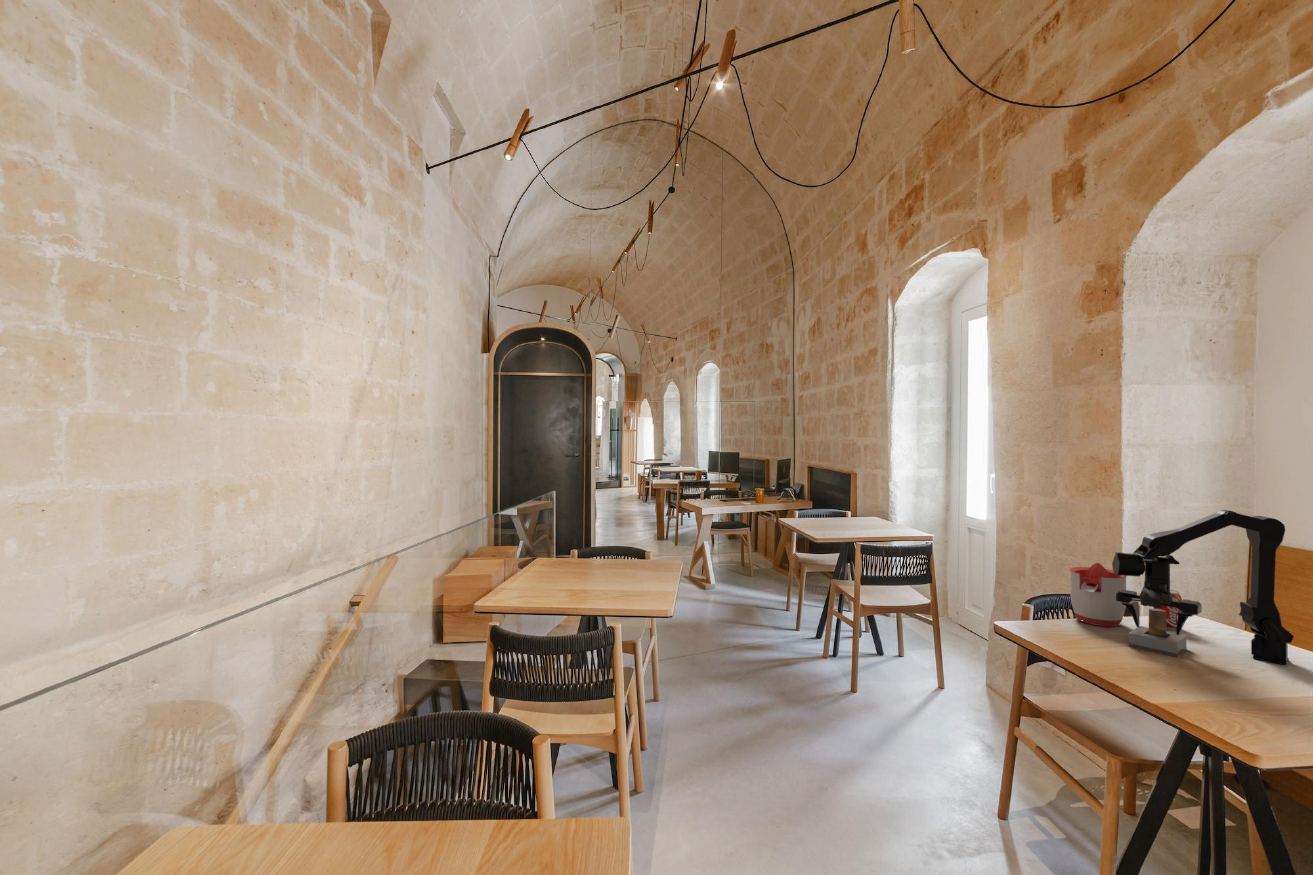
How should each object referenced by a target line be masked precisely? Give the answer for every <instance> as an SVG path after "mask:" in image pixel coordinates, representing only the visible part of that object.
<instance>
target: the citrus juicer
mask: <svg viewBox="0 0 1313 875" xmlns="http://www.w3.org/2000/svg"><path fill="white" fill-rule="evenodd" d="M1069 571H1070V602H1071V606H1072V609H1073V613H1074V616H1075V618H1076V619H1077V620H1078V621H1080V620H1083V621H1082V623H1087V624H1090V625H1096V626H1102V627H1103V628H1104V627H1105V628H1110V627H1117V626H1120V624H1121V622H1122V621H1123V619H1124V618H1123V617H1124V614H1125V613H1126V612H1125V611H1126V608H1127V607H1126V606H1125V605H1122V602H1119V601H1116V593H1117V592H1119V591H1121V590H1127V577H1128V576H1123V575H1115V574H1114V571H1113V569H1108V568H1105V567H1104V566H1103V565H1102V564H1101V563H1099V562H1095V563H1093V564H1092V565H1091V566H1090V567H1089V566H1088V567H1087V566H1074V567H1070V568H1069Z"/></svg>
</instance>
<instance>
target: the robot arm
mask: <svg viewBox="0 0 1313 875" xmlns="http://www.w3.org/2000/svg"><path fill="white" fill-rule="evenodd" d="M1229 526H1235V527H1238V528H1242V529H1245V532H1246V537H1247V539H1248V541H1249V544H1250V546H1251V548H1252V551H1251V574H1250V576H1251V578H1250V597H1249V599H1248V600H1247V601H1240V603H1239V607H1240V612H1239V614H1238V616H1241V619H1242V621H1243V622H1242V623H1244V624H1246V625H1247V626H1248V627H1249V629H1250V631H1251V632H1252V633H1254V635H1253V638H1252V639H1251V640H1250V641H1251V642H1250V643H1251V645H1250V646H1251V647H1250V651H1251V652H1250V654H1251V655H1252V659H1255V660H1260V661H1265V662H1270V663H1274V664H1279V665H1285V666H1286V665H1288V663H1289V661H1290V658H1289V657H1288V656H1289V655H1288V654H1289V652H1288V646H1289V645H1288V644H1292V641H1293V640H1294V638H1295V636H1294V634H1292V633H1291V632H1290V631H1289V630H1287V628H1285V627H1284V626H1283V623H1282V619H1281V614H1280V611H1279V609H1278V607H1277V605H1276V603H1275V584H1276V563H1277V561H1276V558H1277V556H1276V554H1277V549H1279V547H1280V546H1281V544H1282V542H1283V540H1284V538H1285V537H1284V536H1285V534H1286V526H1285V524H1284V523H1283V522H1281V520H1279V519H1276V518H1273V517H1268V516H1262V515H1254V516H1250V515H1245V514H1242V513H1237V512H1236V511H1234V510H1229V509H1220V510H1218V511H1217V512H1215V513H1212V514H1210V515H1208V516H1204V517H1202V518H1200V519H1198V520H1197V519H1196V520H1195V521H1193V522H1192V521H1191V522H1190V523H1188V524H1185V525H1183V526H1180V527H1177V528H1175V529H1170V530H1164V531H1158V532H1153V533H1150V534H1146V535H1145V536H1144V537H1143V538H1142V541H1141V544H1140V545H1139V546H1138V547H1136V549H1135V550H1134V551H1133V552H1132V553H1130V552H1129V553H1128V552H1127V553H1126V552H1122V551H1121V552H1120V551H1116V552H1114V553H1115V555H1114V557H1113V560H1112V562H1111V563H1112V570H1113V571H1114V574H1115V575H1123V576H1127V577H1138V578H1139V577H1141V575H1144V581H1143V583H1144V584H1143V588H1142V589H1141V591H1140V593H1139V594H1138V592H1137V591H1134V590H1129V589H1126V590H1121V591H1119V592H1117V593H1116V601H1119V602H1122V605H1125V606H1126V608H1127V609H1128V611H1129V612H1130V614H1131V616H1132V619H1133V622H1134V624H1135V626H1136V628H1137V627H1139V626H1140V625H1141V624H1140V623H1141V622H1140V609H1139V608H1140V606H1139V605H1141V606H1143V607H1150V608H1152V607H1153V608H1154V607H1155V608H1162V606H1168V607H1174V608H1179V610H1180V612H1179V613H1178V622H1177V629H1176V630H1175V631H1176V632H1175V633H1177V635H1179V634H1181V631H1182V630H1183V627H1184V626H1185V623H1186V621H1187V620H1188V618H1189V617H1194V615H1196V616H1198V615H1199V614H1201V612H1202V611H1203V607H1202V603H1201V602H1200V601H1197V600H1191V599H1182V601H1180V602H1177V601H1172V594H1171V592H1170V590H1171V565H1180V562H1179V561H1178V560H1177V559H1175V558H1174V556H1173V555H1172V554H1173V553H1174V552H1176V551H1178V550H1179V549H1180V548H1182V546H1184V545H1185V544H1187V543H1188V542H1189V543H1190V542H1191V541H1193V540H1196V539H1199V538H1201V537H1205V536H1206V535H1209V534H1212V533H1214V532H1216V531H1219V530H1221V529H1222V530H1223V529H1224V528H1226V527H1229ZM1139 602H1140V604H1139ZM1287 662H1288V663H1287Z"/></svg>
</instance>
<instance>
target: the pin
mask: <svg viewBox="0 0 1313 875" xmlns="http://www.w3.org/2000/svg"><path fill="white" fill-rule="evenodd" d="M1148 628H1149V635H1153V636H1158V637H1163V638H1166V631H1167V629H1166V611H1164V610H1161V609H1154V608H1148Z"/></svg>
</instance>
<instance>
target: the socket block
mask: <svg viewBox="0 0 1313 875" xmlns="http://www.w3.org/2000/svg"><path fill="white" fill-rule="evenodd" d="M1128 647H1129V648H1133V649H1139V650H1143V651H1148V652H1151V653H1156V654H1160V655H1166V656H1170V657H1174V658H1179V656H1180V655H1182V653H1184V652H1185V651H1186V650H1187V634H1183V633H1182V634H1181V633H1180V634H1179V635H1177V632H1171V631H1167V630H1166V638H1163V637H1158V636H1153V635H1149V627H1148V626H1147V627H1146V626H1141V625H1139V627H1137V626H1136V628H1134V629H1132V630H1131V631H1130V632H1128Z"/></svg>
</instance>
